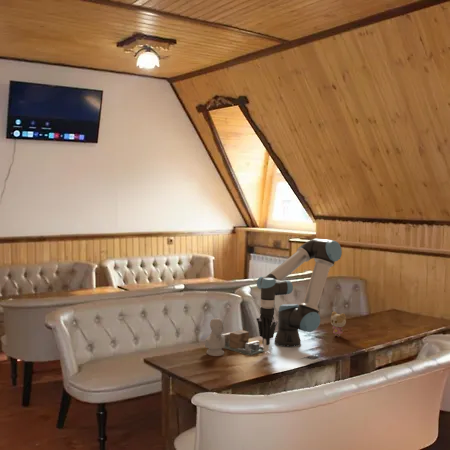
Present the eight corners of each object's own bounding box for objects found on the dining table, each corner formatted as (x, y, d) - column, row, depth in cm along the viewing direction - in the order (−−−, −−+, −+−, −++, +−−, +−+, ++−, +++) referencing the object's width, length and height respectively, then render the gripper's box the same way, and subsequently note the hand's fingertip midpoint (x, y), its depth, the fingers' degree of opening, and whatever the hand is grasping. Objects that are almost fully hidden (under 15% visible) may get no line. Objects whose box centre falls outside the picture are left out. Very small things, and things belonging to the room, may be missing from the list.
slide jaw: (256, 347, 327) (256, 340, 327) (262, 349, 324) (263, 342, 323) (245, 350, 320) (245, 343, 320) (251, 352, 317) (251, 345, 316)
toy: (326, 335, 365) (327, 311, 364) (335, 333, 371) (336, 310, 370) (339, 339, 358) (340, 314, 357) (348, 337, 364) (349, 313, 363)
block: (240, 343, 335) (240, 329, 334) (248, 345, 331) (248, 331, 330) (229, 346, 328) (230, 332, 328) (237, 348, 324) (238, 334, 324)
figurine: (229, 353, 320) (230, 317, 319) (214, 357, 310) (216, 321, 309) (215, 349, 326) (217, 315, 325) (201, 354, 316) (202, 318, 315)
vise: (234, 343, 340) (235, 331, 339) (264, 351, 325) (264, 338, 324) (220, 347, 331) (220, 334, 331) (249, 355, 316) (250, 342, 316)
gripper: (253, 306, 316) (252, 349, 318) (272, 309, 308) (270, 354, 309) (262, 304, 322) (260, 346, 323) (281, 308, 313) (279, 351, 314)
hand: (265, 350), depth 316 cm, fingers closed
